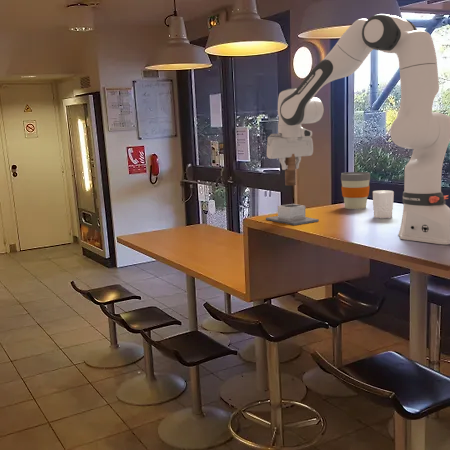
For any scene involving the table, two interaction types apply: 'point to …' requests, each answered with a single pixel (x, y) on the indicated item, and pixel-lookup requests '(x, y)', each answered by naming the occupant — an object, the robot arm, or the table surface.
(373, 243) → the table surface
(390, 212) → the white cup
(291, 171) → the walnut rail post
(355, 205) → the reusable coffee cup
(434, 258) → the table surface
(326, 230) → the table surface
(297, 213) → the cup bracket
